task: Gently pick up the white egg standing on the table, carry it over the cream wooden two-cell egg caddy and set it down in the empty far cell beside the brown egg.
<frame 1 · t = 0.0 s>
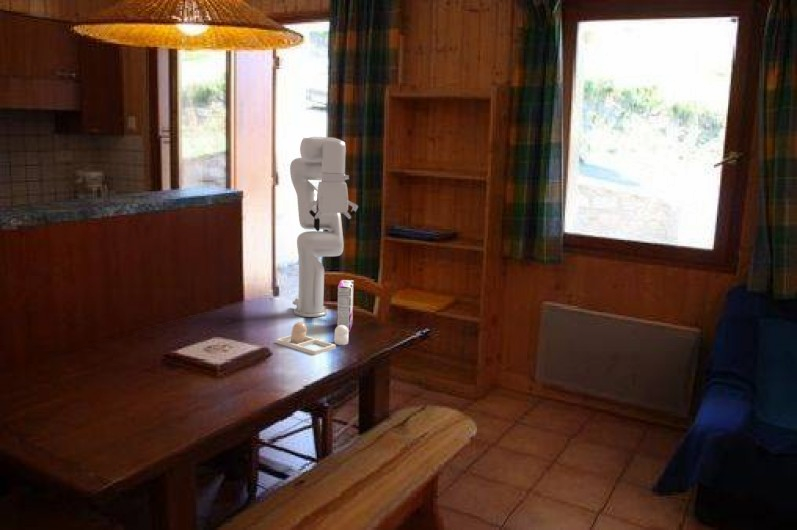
hand: (331, 230, 238), 37 cm above the table, tool pointing down, fingers open, 9 cm apart
caddy: (305, 347, 234), on the table
white egg: (341, 345, 239), on the table
brown egg: (297, 342, 236), point 1 cm above the table, tilted 8°, touching caddy
candy bar box: (344, 328, 259), on the table
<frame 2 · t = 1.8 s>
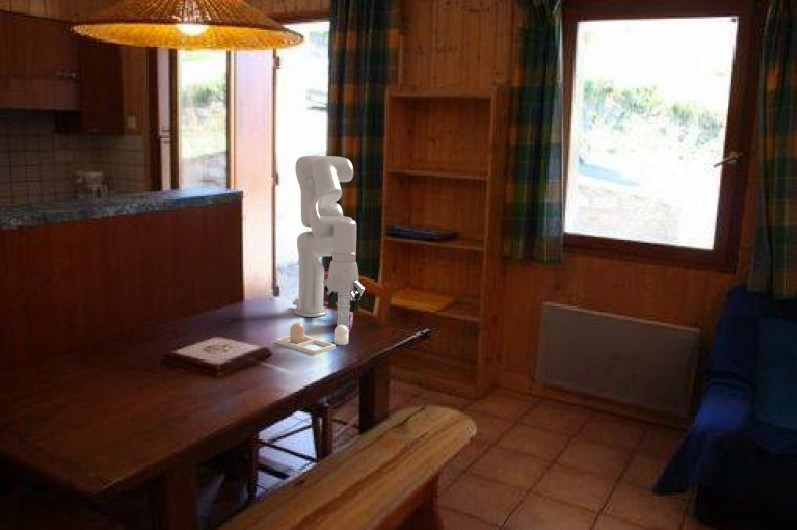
hand: (342, 309, 236), 12 cm above the table, tool pointing down, fingers open, 9 cm apart
brown egg: (297, 343, 236), point 1 cm above the table, touching caddy
everything else where it was.
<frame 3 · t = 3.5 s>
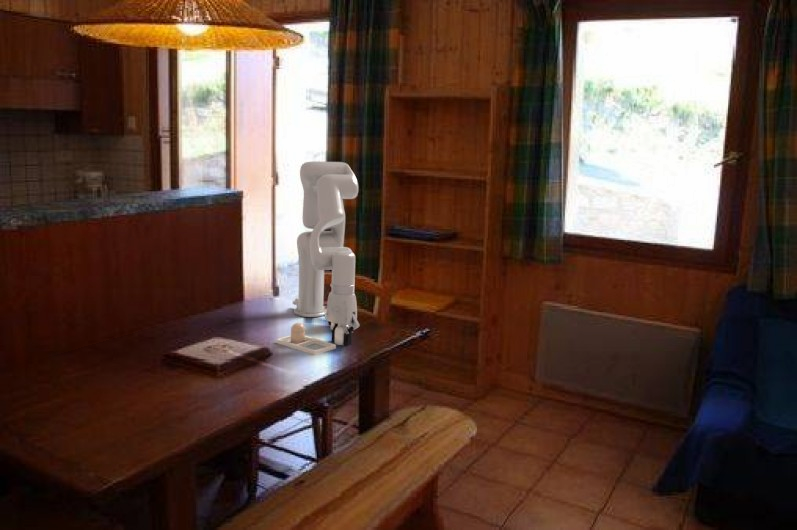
hand: (341, 342, 238), 1 cm above the table, tool pointing down, fingers closed on white egg, 4 cm apart
white egg: (341, 345, 239), on the table, touching gripper
everything else where it was.
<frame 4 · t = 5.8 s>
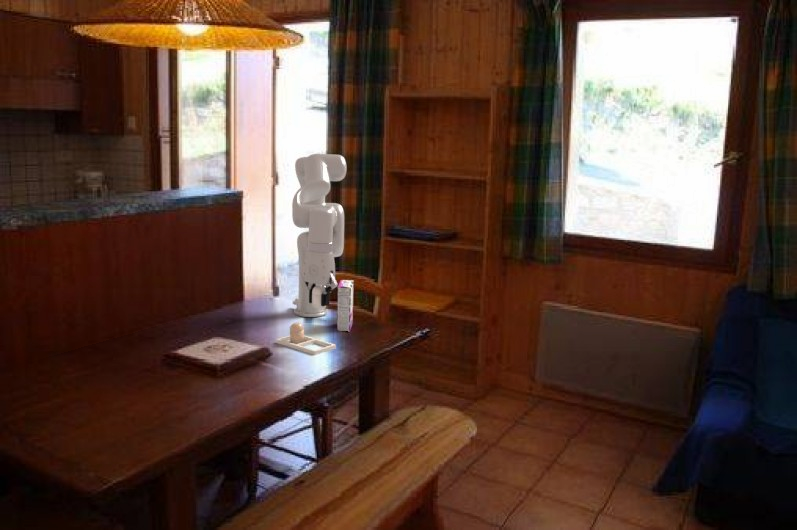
hand: (319, 303, 229), 16 cm above the table, tool pointing down, fingers closed on white egg, 4 cm apart
white egg: (319, 306, 229), point 15 cm above the table, touching gripper
everything else where it was.
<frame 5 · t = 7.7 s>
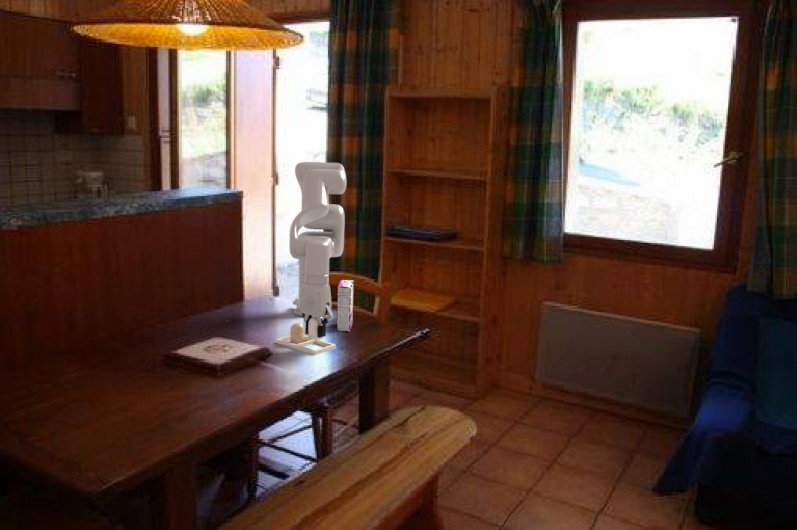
hand: (315, 334, 230), 6 cm above the table, tool pointing down, fingers closed on white egg, 4 cm apart
white egg: (315, 337, 230), point 4 cm above the table, touching gripper
everything else where it was.
when the fingers open (3 cm above the table, at t = 8.6 s): white egg drops 2 cm, resting on caddy.
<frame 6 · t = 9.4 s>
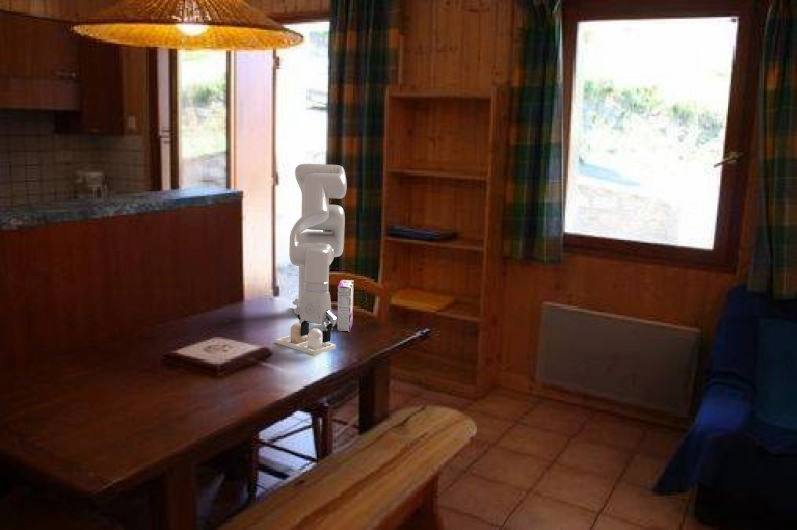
hand: (315, 338, 231), 4 cm above the table, tool pointing down, fingers open, 9 cm apart
white egg: (314, 349, 231), point 1 cm above the table, touching caddy
brown egg: (297, 343, 236), resting on caddy, touching gripper
everything else where it was.
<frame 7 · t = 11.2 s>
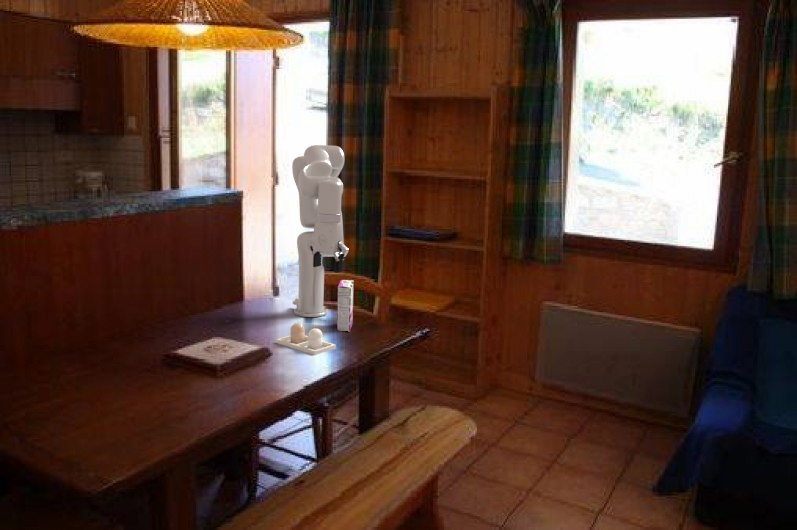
hand: (327, 269, 238), 25 cm above the table, tool pointing down, fingers open, 9 cm apart
brown egg: (297, 343, 236), point 1 cm above the table, touching caddy
everything else where it was.
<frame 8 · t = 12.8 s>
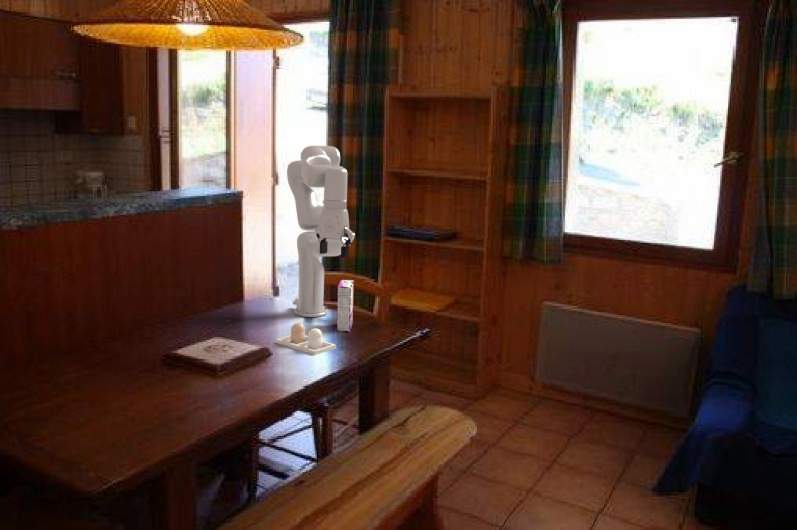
hand: (333, 255, 242), 28 cm above the table, tool pointing down, fingers open, 9 cm apart
nothing on the table moved.
at the end: white egg inside the target area on the caddy (0.4 cm from its centre), point 0.5 cm above the caddy's base; white egg tilted 1°; the gripper is holding nothing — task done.
